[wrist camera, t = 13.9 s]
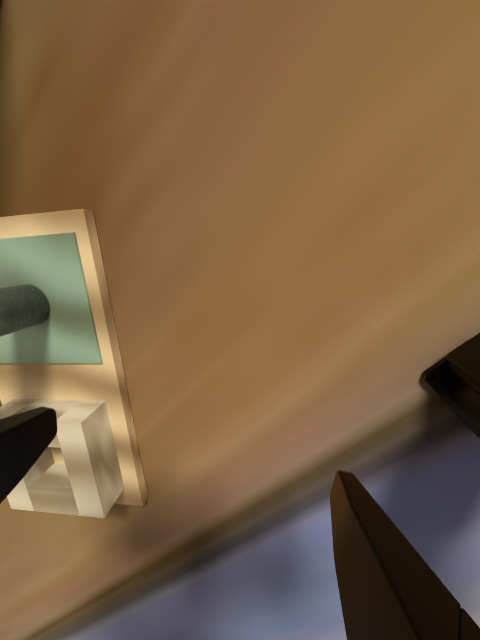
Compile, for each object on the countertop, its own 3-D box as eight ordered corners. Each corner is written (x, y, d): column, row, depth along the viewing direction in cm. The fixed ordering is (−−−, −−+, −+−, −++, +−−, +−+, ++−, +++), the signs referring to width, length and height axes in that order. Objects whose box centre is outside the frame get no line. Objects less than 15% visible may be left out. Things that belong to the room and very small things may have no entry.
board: (147, 497, 27) (125, 538, 23) (40, 487, 29) (3, 524, 25) (92, 210, 20) (48, 203, 17) (-43, 223, 22) (-110, 220, 19)
